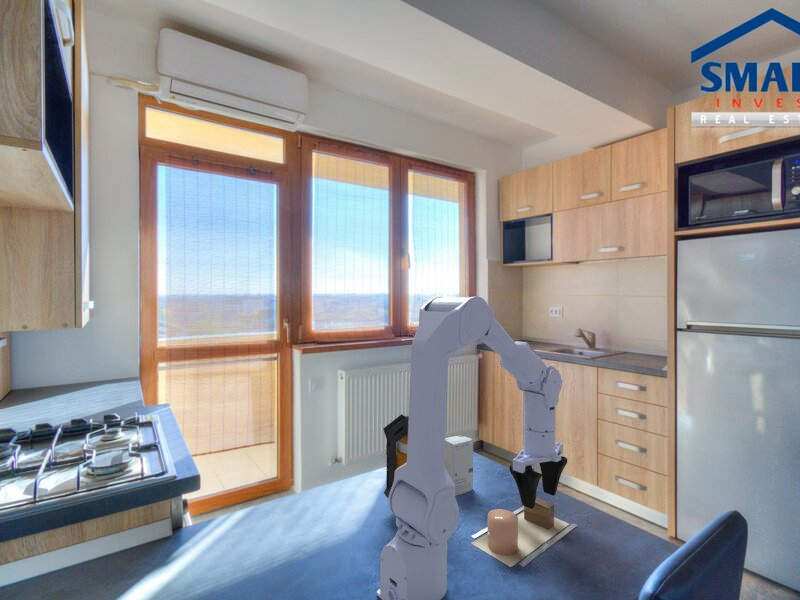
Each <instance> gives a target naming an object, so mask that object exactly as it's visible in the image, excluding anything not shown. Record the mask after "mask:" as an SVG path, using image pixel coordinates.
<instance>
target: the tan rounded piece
mask: <svg viewBox="0 0 800 600" xmlns="http://www.w3.org/2000/svg"><path fill="white" fill-rule="evenodd" d="M513 512H514V511H511V510H507V509H503V508H497V509H496V508H494V509H491V510H490V511H489V512H488V513H487V527H488V532H487V533H488V547H489V549H490V550H491V551H493V552H494V553H496V554H499V555H504V556H509V555H513V554H515V553H517V551H518V517H517V515H518V514H514V513H513Z"/></svg>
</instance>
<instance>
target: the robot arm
mask: <svg viewBox="0 0 800 600" xmlns="http://www.w3.org/2000/svg"><path fill="white" fill-rule="evenodd" d="M418 316H419V317H418V326H417V329H416V332H415V334H414V337H413V339H412V342H411V350H410V351H411V353H410V372H409V373H410V375H409V377H410V378H409V399H408V400H409V401H408V402H409V403H408V416H409V421H408V445H407V462H406V463H405V464H403V465H402V466H400V467H399V468H398V469H396V470H395V474H394V482H393V485H392V488H391V490H390V493H389V498H387V499H388V501H387V502H388V503H387V504H388V509H389V511H390V512H391V514H392V515H393V516H395V525H396V527H397V530H396V531H397V532H396V534H395V536H394V537H393V538H392V539H391V540H390V541H389V542H388V543H387V544H386V545H384V546H383V548H381V552H380V557H379V558H380V560H379V561H380V564H379V565H380V566H379V567H380V569H379V572H380V574H379V575H380V576H379V577H380V579H379V588H378V590H377V591H376V595H377V597H378V598H380V599H381V600H442V598H443V599H444V597H445V596H446V594H447V591H448V540H449V539H451V537H452V535H453V534H454V533H455V532H456V529H457V527H458V524H459V521H460V520H459V519H460V508H459V505H458V502H457V499H456V496H455V485H454V483H453V481H452V479H451V477H450V476H449V474H448V472H447V470H446V469H445V466H444V460H445V438H446V432H447V431H446V428H447V426H446V425H447V403H448V402H447V399H448V377H449V376H448V375H449V374H448V372H449V360H450V358H451V357H452V356H453V355H454V354H455V353H456V352H458V351H459V350H461V349H463V348H465V347H467V346H469V345H471V344H472V343H474V342H476V341H478V340H480V341H481V342H482V343H483V344H485V345H486V346H488V348H489V349H491V350H492V351H494V352H495V353H496V354H497V355H499V362H500V365H501V366H502V368H503V369H504V370H506V371H507V372H508V373H509V374H510V375H511V376H513V378H514V379H515V382H516V387H517V388H518V390H519V391H522V392H523V416H522V417H523V418H522V419H523V423H522V424H523V426H522V427H523V429H522V430H523V432H522V433H523V437H522V438H523V440H522V441H523V443H522V444H523V445H522V446H523V448H522V449H521V450H520V451H519V453H518V454H517V455H516V457H514V458H513V459H512V464H509V472H510V474H511V475H512V477H513V480H514V481H515V483H516V486H517V489H518V493H519V497H520V502H521V505H522V506H525V507H528V508H530V509H533V508H534V506H535V501H536V497H537V489H538V486H539V483H540V480H541V483H542V489H543V493H546V494H548V495H551V496H553V497H554V496H556V493H557V490H558V487H559V482H560V479H561V475H562V473H563V470H564V468H565V467H566V466H567V464H568V457H566V456H562V454H564V443H561V442H558V441H556V406H558V405H559V402H560V401H559V400H560V399H559V398H560V397H559V396H560V393H561V390H562V387H563V379H562V375H561V373H560V371H559V370H558V369H556V367H555V366H552V365H549V364H548V365H547V364H546V363H545V362H544V361H543V358H541V356H538V355H537V354H536V353H535V352H534V351H533V350H532V349H531V348H530V347H531V344H529V343H528V342H527V341H514V339H513V338H512V337H511V336H510V334H508V332H507V331H506V329H504V327H503V326H502V325H501V324H500V323H499V322H498V320H497V319H496V318H495V309H494V308H493V307H492V306H491V305H489V304H488V302H487V300H485V298H482V297H480V296H470V297H442V296H434V297H432V298H430V299H429V300H428V301H427V302H425V303H424V304H423V305H422V306H421V307H420V308H419V315H418ZM536 464H539V468H540V472H541V473H540V472H537V471H535V470H534V468H533V466H534V465H536Z"/></svg>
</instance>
